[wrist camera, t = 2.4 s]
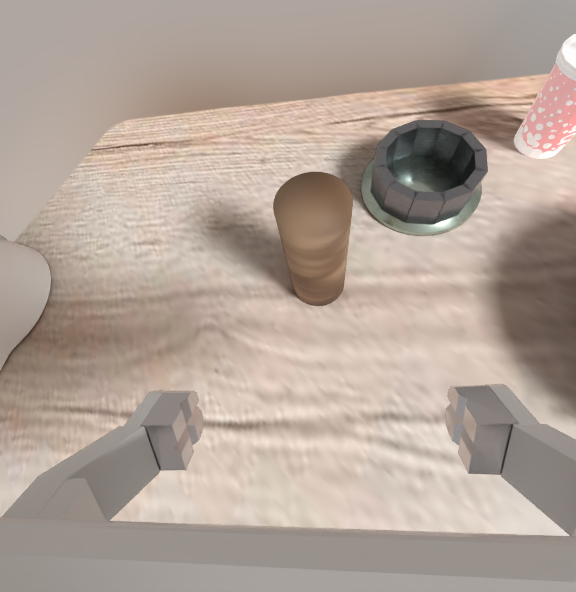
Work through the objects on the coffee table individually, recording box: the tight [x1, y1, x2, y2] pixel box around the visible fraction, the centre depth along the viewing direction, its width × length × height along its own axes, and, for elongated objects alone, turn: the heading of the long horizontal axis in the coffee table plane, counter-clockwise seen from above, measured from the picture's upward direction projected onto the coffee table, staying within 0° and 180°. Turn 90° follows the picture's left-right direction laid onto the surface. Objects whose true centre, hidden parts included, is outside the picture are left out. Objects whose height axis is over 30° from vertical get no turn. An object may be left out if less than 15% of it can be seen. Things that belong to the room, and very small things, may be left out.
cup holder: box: [361, 120, 488, 236], centre depth 32 cm, size 12×12×4 cm
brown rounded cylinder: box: [273, 172, 353, 306], centre depth 25 cm, size 5×5×12 cm
